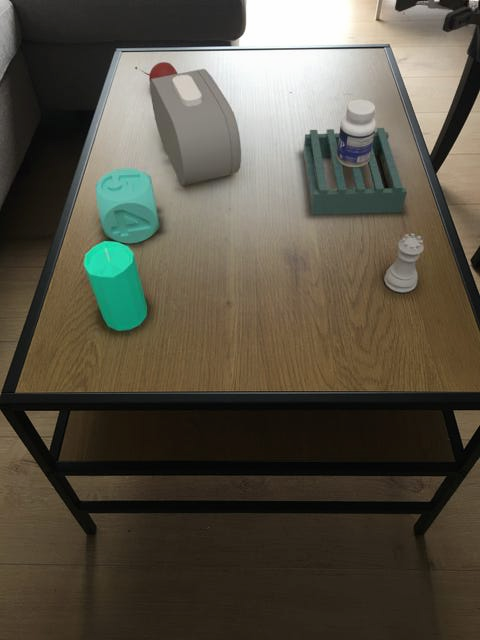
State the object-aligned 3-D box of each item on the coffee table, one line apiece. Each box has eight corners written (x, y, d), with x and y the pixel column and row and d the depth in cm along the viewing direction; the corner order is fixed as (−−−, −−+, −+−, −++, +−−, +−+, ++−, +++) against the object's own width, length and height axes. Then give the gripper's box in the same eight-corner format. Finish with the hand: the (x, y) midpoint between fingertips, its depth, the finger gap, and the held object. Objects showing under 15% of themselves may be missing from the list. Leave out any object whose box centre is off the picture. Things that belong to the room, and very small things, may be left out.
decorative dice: (161, 239, 82) (153, 197, 75) (108, 248, 81) (96, 206, 75) (156, 206, 87) (148, 164, 80) (106, 213, 86) (94, 171, 79)
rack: (383, 152, 94) (388, 127, 90) (401, 212, 84) (408, 187, 80) (303, 154, 94) (305, 129, 90) (311, 214, 84) (314, 190, 81)
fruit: (161, 92, 112) (136, 59, 107) (183, 78, 110) (159, 44, 105) (158, 108, 109) (132, 75, 103) (181, 94, 106) (156, 59, 101)
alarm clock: (243, 188, 89) (241, 113, 78) (187, 201, 87) (178, 127, 77) (206, 123, 101) (200, 51, 90) (157, 134, 99) (145, 62, 89)
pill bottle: (336, 148, 87) (343, 96, 80) (369, 149, 87) (378, 97, 80) (336, 167, 84) (343, 115, 77) (370, 169, 83) (380, 117, 76)
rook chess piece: (377, 275, 76) (388, 233, 70) (405, 267, 77) (418, 224, 71) (394, 298, 73) (406, 256, 67) (422, 289, 74) (437, 246, 68)
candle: (100, 302, 74) (77, 238, 65) (143, 292, 75) (126, 227, 66) (106, 335, 71) (83, 272, 61) (151, 324, 72) (135, 260, 62)
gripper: (464, -60, 79) (387, -33, 74) (551, -33, 72) (472, -1, 66) (450, -4, 85) (378, 25, 79) (529, 26, 78) (455, 60, 72)
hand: (421, 13), depth 73 cm, fingers open, 8 cm apart
